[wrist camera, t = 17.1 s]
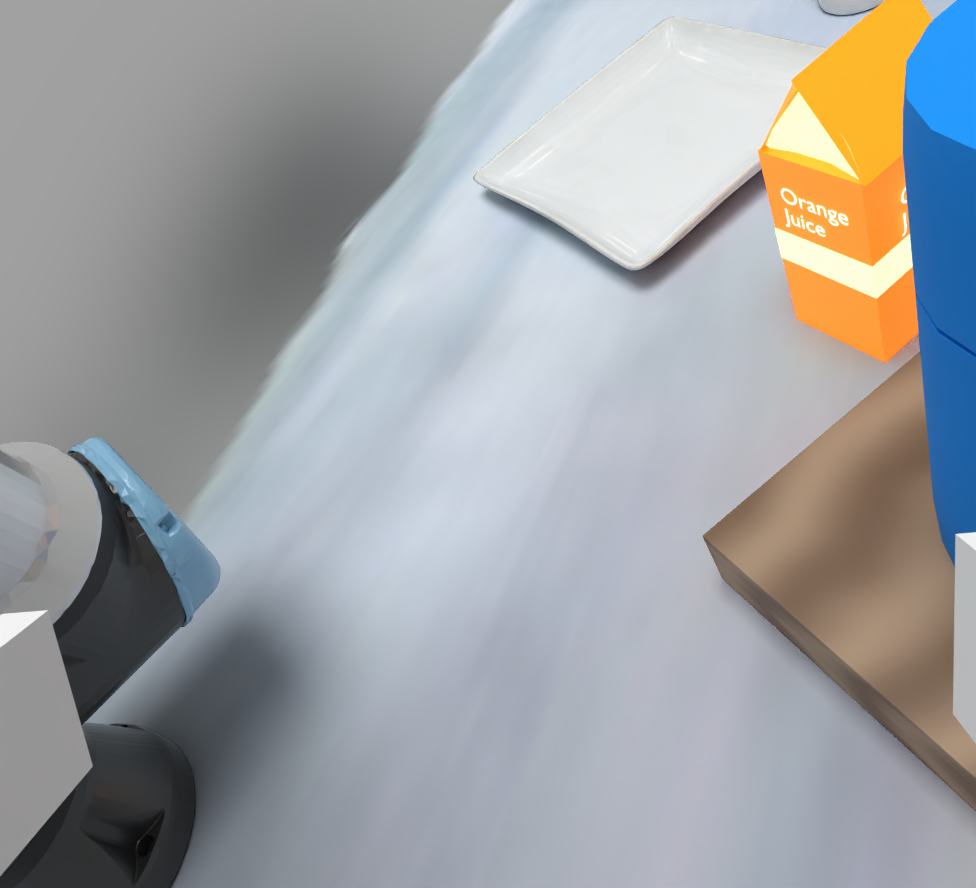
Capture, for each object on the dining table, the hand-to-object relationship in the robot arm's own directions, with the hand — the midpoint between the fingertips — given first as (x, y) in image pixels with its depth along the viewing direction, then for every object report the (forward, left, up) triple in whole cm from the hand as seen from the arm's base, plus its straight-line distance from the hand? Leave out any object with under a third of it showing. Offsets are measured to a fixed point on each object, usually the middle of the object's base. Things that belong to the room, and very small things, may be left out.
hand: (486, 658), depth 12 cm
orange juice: (-26, +33, -36) cm, 55 cm away
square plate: (-55, +37, -36) cm, 75 cm away
